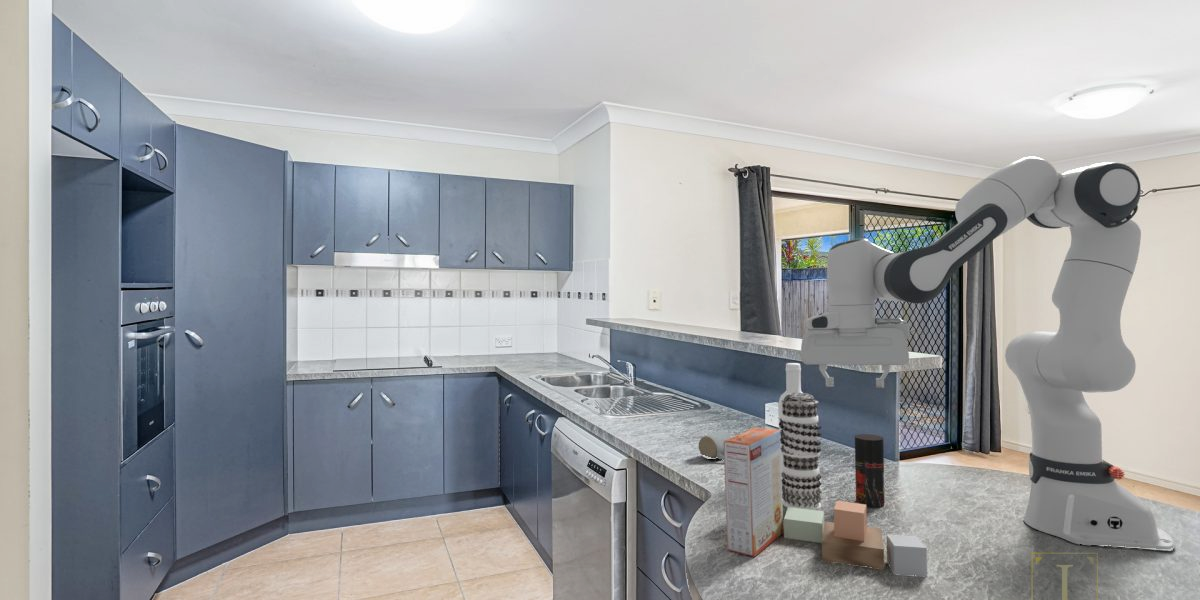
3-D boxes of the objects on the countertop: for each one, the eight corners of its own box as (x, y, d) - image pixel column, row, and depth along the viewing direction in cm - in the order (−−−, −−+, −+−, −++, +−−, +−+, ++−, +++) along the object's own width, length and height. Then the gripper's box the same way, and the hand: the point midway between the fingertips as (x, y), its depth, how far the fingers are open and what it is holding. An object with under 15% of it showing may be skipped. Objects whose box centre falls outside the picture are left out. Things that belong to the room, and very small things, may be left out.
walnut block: (881, 549, 112) (881, 528, 112) (884, 572, 103) (883, 549, 103) (824, 541, 116) (824, 521, 116) (822, 563, 107) (821, 541, 106)
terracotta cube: (866, 531, 110) (866, 504, 110) (864, 541, 106) (863, 513, 106) (838, 527, 113) (837, 500, 113) (834, 536, 108) (833, 508, 108)
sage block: (824, 530, 121) (824, 511, 121) (822, 544, 114) (821, 523, 114) (788, 526, 123) (788, 506, 123) (784, 538, 117) (784, 518, 117)
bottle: (818, 482, 151) (816, 364, 151) (793, 486, 148) (791, 366, 148) (797, 473, 158) (795, 361, 158) (772, 477, 156) (770, 363, 155)
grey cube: (917, 564, 105) (917, 536, 105) (926, 577, 100) (926, 547, 100) (887, 562, 106) (886, 534, 106) (894, 575, 101) (894, 545, 101)
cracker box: (756, 527, 123) (754, 425, 123) (784, 534, 119) (782, 429, 119) (724, 550, 112) (722, 439, 112) (754, 558, 108) (752, 443, 108)
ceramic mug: (696, 458, 176) (696, 432, 176) (714, 453, 181) (714, 427, 181) (725, 466, 168) (725, 438, 168) (743, 460, 173) (743, 434, 173)
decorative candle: (772, 505, 135) (770, 395, 135) (792, 494, 142) (790, 390, 142) (811, 514, 129) (809, 399, 129) (829, 503, 135) (827, 393, 135)
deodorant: (887, 508, 132) (886, 440, 132) (859, 506, 133) (857, 439, 133) (880, 499, 138) (879, 434, 138) (853, 498, 139) (852, 433, 139)
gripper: (908, 316, 119) (911, 385, 119) (802, 319, 128) (804, 383, 128) (909, 318, 114) (912, 390, 114) (798, 320, 123) (800, 387, 123)
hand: (854, 386), depth 121 cm, fingers open, 8 cm apart
